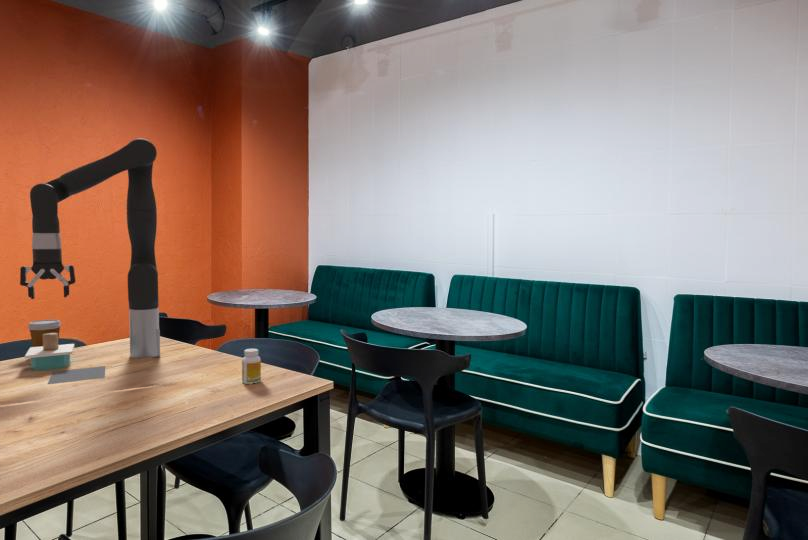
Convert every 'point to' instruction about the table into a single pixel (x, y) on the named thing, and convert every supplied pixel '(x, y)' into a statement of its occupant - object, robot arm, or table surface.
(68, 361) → the bowl
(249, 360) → the supplement bottle
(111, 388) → the table surface
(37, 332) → the disposable coffee cup
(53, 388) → the table surface
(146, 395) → the table surface
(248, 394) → the table surface
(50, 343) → the lid
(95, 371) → the mat
